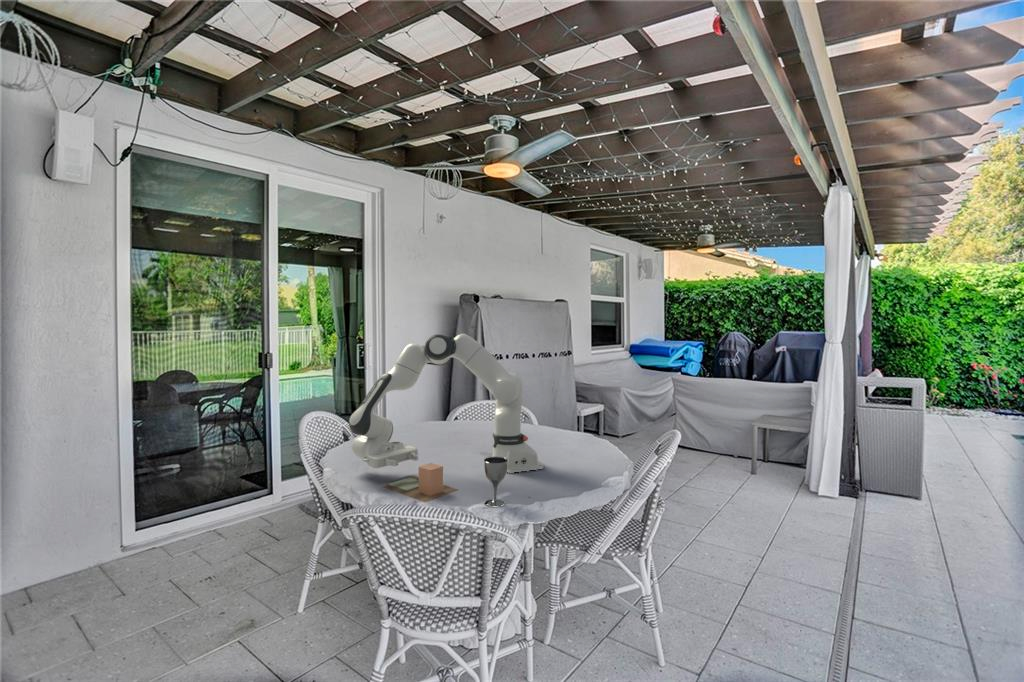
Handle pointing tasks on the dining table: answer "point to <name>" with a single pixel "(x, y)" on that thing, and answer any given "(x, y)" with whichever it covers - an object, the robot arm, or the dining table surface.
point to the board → (415, 489)
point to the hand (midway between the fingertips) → (406, 461)
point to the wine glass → (495, 475)
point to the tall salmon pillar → (430, 479)
